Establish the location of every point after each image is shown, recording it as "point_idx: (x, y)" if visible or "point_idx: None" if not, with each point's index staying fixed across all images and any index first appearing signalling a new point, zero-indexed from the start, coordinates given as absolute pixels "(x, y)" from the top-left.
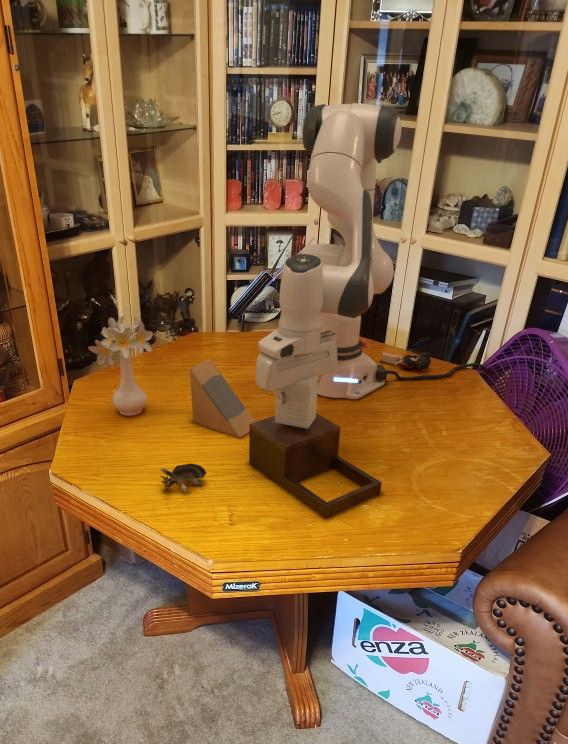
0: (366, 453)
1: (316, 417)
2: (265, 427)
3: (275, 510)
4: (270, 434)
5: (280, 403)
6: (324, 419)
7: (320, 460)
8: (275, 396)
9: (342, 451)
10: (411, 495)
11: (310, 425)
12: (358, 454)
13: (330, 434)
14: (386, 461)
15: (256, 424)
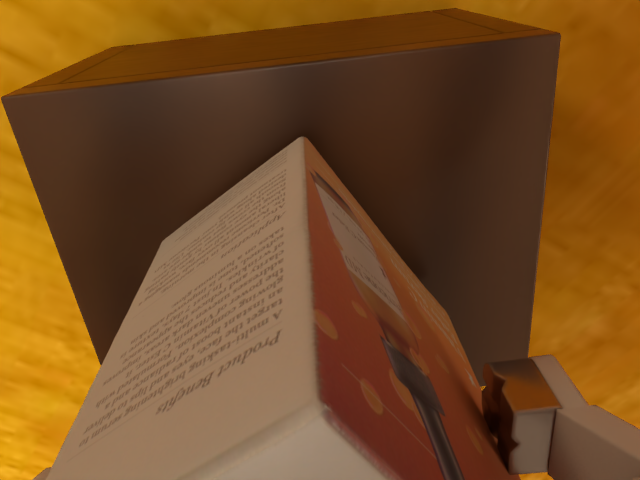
0: (628, 225)
1: (497, 238)
2: (104, 200)
3: (88, 374)
4: (100, 291)
5: None
6: (518, 281)
7: None
8: (90, 391)
9: (564, 165)
10: None
11: None
12: (596, 217)
13: None
14: (632, 302)
15: (55, 129)
